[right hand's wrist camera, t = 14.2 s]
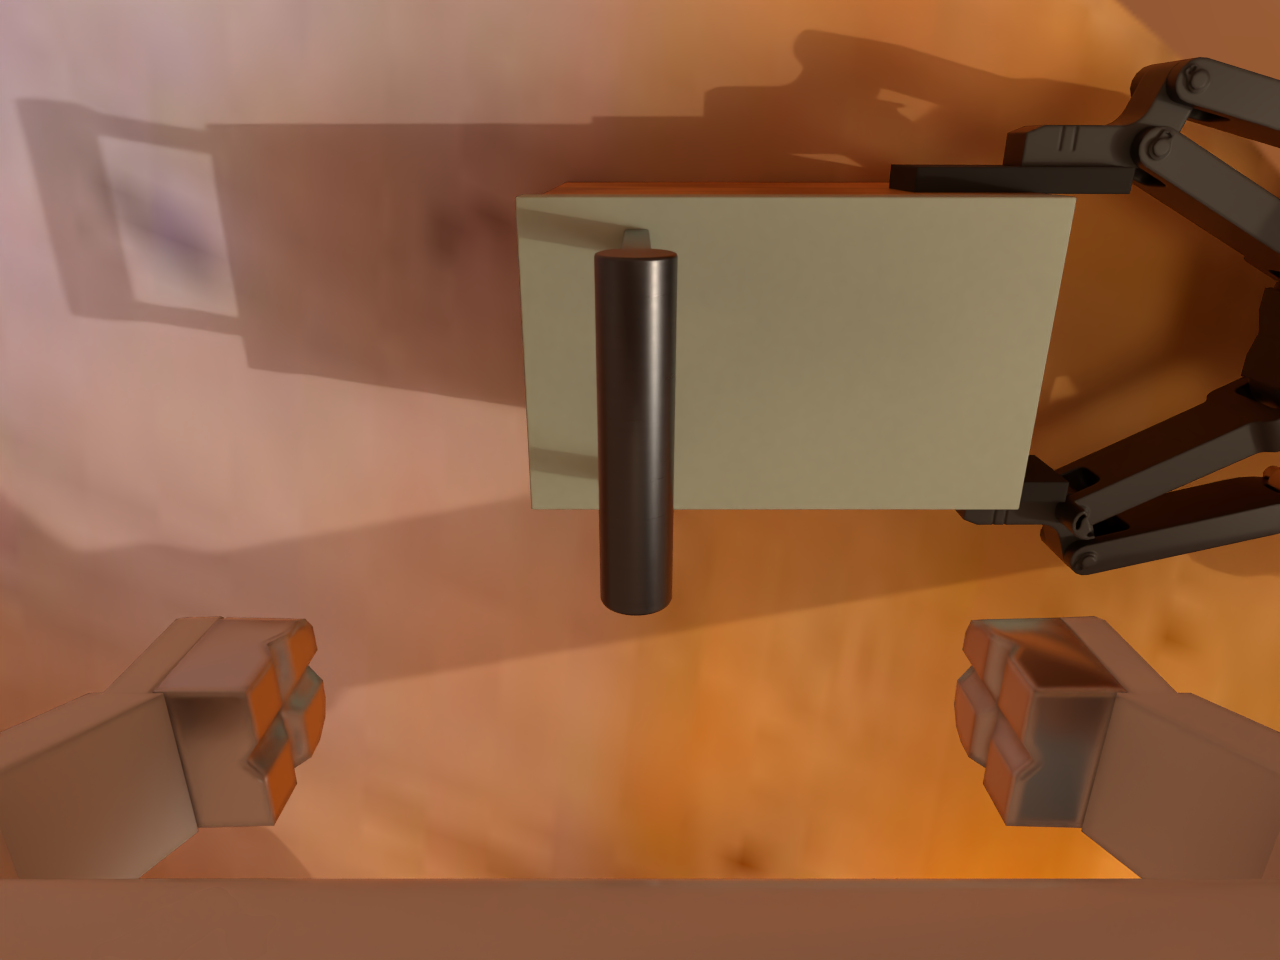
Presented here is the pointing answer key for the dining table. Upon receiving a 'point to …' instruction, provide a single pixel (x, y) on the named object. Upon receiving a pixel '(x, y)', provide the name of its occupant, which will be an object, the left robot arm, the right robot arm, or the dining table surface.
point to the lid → (779, 357)
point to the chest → (742, 188)
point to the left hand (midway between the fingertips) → (884, 338)
